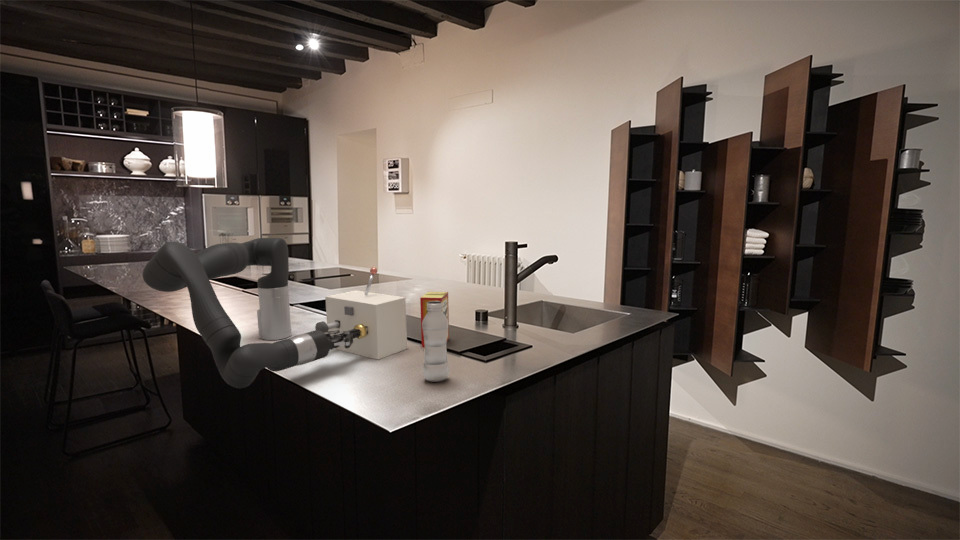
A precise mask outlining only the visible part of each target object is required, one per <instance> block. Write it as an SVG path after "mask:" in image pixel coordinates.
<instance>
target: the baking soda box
mask: <svg viewBox="0 0 960 540" xmlns="http://www.w3.org/2000/svg"><path fill="white" fill-rule="evenodd" d="M419 299H420V301H419V303H420V335H421V348H425V344H424V335H423V328H422V322H423V319H424V317H425V316H426V314H427V313H428V311H427V302H430V301H440V302H442V307H443V310H441V311H442V313H443V314H444V315H445V317H446V318H447V320H448V332H447V340H448V339H449V340H450V323H449V321H450V317H449V315H450V313H449V310H450V309H449V291H427V292H426V293H425V294H423V295H422V296H421V297H420V298H419ZM449 340H448V341H449Z"/></svg>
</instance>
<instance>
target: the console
mask: <svg viewBox="0 0 960 540" xmlns="http://www.w3.org/2000/svg"><path fill="white" fill-rule="evenodd" d="M364 293H365V291H362V290H358V289H357V290H356V289H355V290H351V291H347V292H341V293H337V294H332V295H326V296H325V298H324V299H325V310H326V312H325V314H326V324H330V323H334V322H338V321H339V322H340V326H339V327H336V328H332V329H329V330H328V331H337V330H339V331H340V332H341V331H349V330H352V329H353V328H354V326H356V325H359V324H363V325H364V326H365V327H367V326H368V332H367V335H366V337H364V338H361V339H357V338H354V339H353V343H352V345H351V346H350V348H345V347H344V346H340V347H338V348H337V349H336V350H338V351H339V350H340V351H341V352H347V353H350V354H354V355H359V356H362V357H366V358H371V359H373V360H374V359H375V360H377V361H379V360H380V359H383V358H386V357H389V356H392V355H394V354H396V353H399V352H402V351H405V350H407V349H408V335H407V331H408V330H407V305H406V301H407V300H406V297H405V296H398V295H392V294H383V293H377V292H372V291H371V292H370V291H369V292H368V295H367V296H366V295H365V294H364Z"/></svg>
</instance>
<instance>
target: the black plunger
mask: <svg viewBox="0 0 960 540" xmlns="http://www.w3.org/2000/svg"><path fill="white" fill-rule="evenodd" d="M339 326H340V322H339V321H338V322H334V323H330V324H327V321H323V320H322V321H319V322H316V324H315V326H314V327H315V329H314V330H320V331H322V332H326V331H328V330H329V329H332V328H336V327H339Z"/></svg>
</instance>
